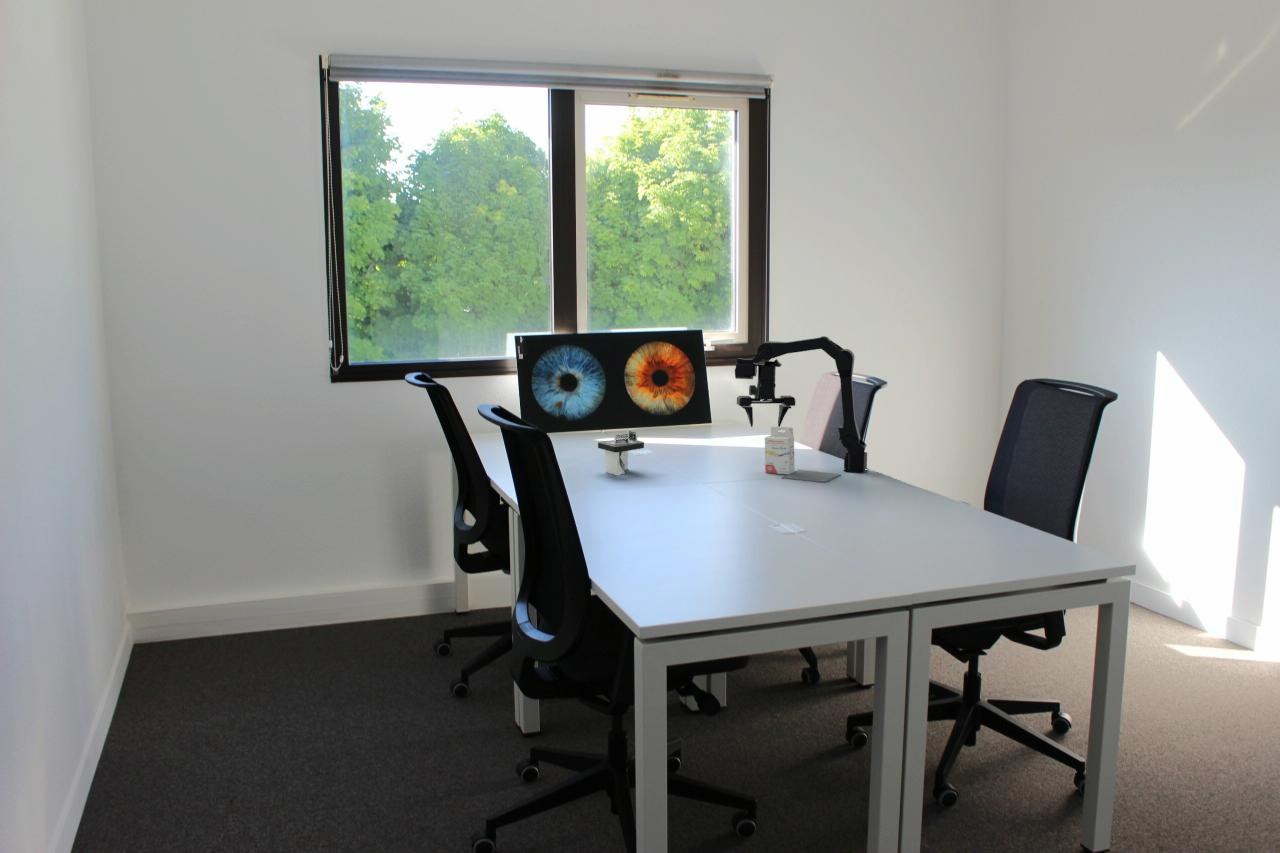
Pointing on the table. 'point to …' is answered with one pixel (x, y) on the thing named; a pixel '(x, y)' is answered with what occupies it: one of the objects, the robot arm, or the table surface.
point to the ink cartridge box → (779, 451)
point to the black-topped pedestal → (619, 452)
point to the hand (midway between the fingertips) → (765, 426)
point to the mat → (811, 476)
